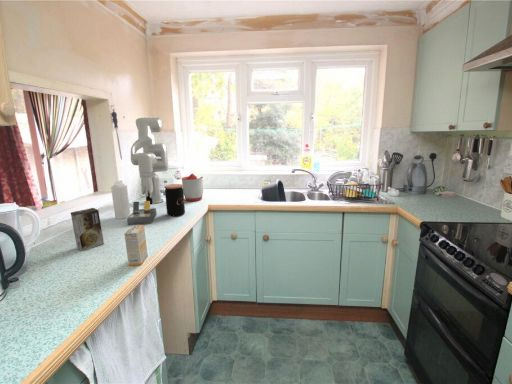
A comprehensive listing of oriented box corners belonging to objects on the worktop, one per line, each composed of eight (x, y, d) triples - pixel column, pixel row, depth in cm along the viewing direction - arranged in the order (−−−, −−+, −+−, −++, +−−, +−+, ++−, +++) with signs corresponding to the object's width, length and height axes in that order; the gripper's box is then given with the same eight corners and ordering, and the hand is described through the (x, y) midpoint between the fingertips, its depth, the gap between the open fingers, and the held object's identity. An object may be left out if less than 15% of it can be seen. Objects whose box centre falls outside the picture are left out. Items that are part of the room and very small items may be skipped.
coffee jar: (180, 217, 157) (177, 187, 154) (163, 216, 159) (160, 187, 156) (188, 212, 168) (186, 184, 164) (172, 211, 170) (170, 183, 166)
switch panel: (135, 215, 162) (135, 209, 161) (156, 214, 164) (155, 207, 163) (127, 225, 145) (126, 217, 144) (151, 223, 147) (150, 216, 146)
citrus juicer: (210, 198, 205) (208, 172, 201) (193, 203, 191) (191, 175, 186) (195, 196, 213) (193, 171, 209) (178, 200, 199) (176, 174, 195)
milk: (115, 218, 158) (109, 182, 153) (122, 215, 163) (117, 180, 159) (124, 219, 156) (118, 182, 152) (131, 216, 162) (126, 180, 157)
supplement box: (135, 256, 106) (131, 225, 104) (148, 256, 107) (144, 224, 104) (127, 266, 98) (123, 233, 95) (141, 265, 99) (137, 232, 96)
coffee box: (98, 241, 124) (93, 207, 120) (104, 244, 119) (99, 209, 116) (76, 247, 117) (70, 212, 113) (81, 251, 113) (75, 214, 109)
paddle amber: (144, 212, 155) (144, 201, 157) (150, 212, 155) (150, 201, 157) (143, 212, 153) (144, 201, 155) (149, 211, 154) (149, 200, 156)
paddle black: (133, 213, 154) (133, 202, 156) (139, 213, 154) (139, 202, 156) (132, 212, 152) (133, 201, 154) (138, 212, 153) (138, 201, 155)
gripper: (142, 173, 165) (145, 202, 169) (136, 176, 151) (140, 207, 155) (155, 172, 167) (158, 201, 170) (150, 176, 152) (153, 207, 156)
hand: (149, 204), depth 162 cm, fingers closed
